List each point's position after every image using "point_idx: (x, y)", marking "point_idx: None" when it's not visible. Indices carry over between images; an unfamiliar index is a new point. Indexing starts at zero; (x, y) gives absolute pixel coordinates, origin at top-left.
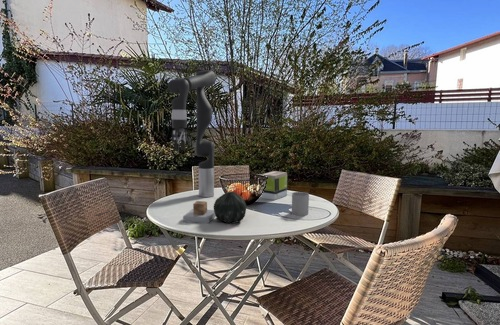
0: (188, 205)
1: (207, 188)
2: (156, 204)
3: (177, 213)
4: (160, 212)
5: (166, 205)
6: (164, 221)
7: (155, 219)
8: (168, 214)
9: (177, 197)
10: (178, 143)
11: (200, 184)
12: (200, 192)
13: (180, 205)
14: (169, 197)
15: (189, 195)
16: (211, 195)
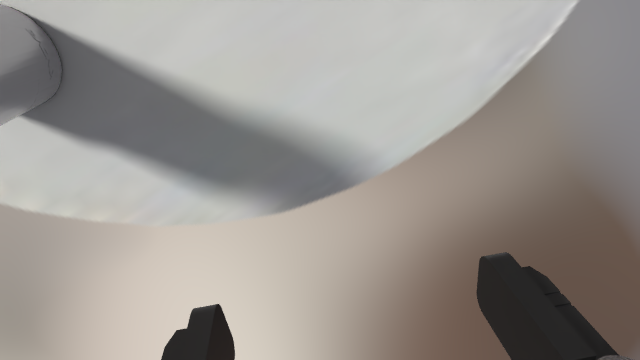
0: (269, 44)
1: (3, 35)
2: (313, 196)
3: (422, 18)
4: (424, 106)
5: (312, 148)
6: (549, 7)
7: (524, 64)
8: (446, 52)
9: (154, 186)
10: (600, 357)
11: (13, 99)
12: (47, 85)
13: (286, 86)
14: (177, 218)
15: (77, 154)
16: (4, 7)
